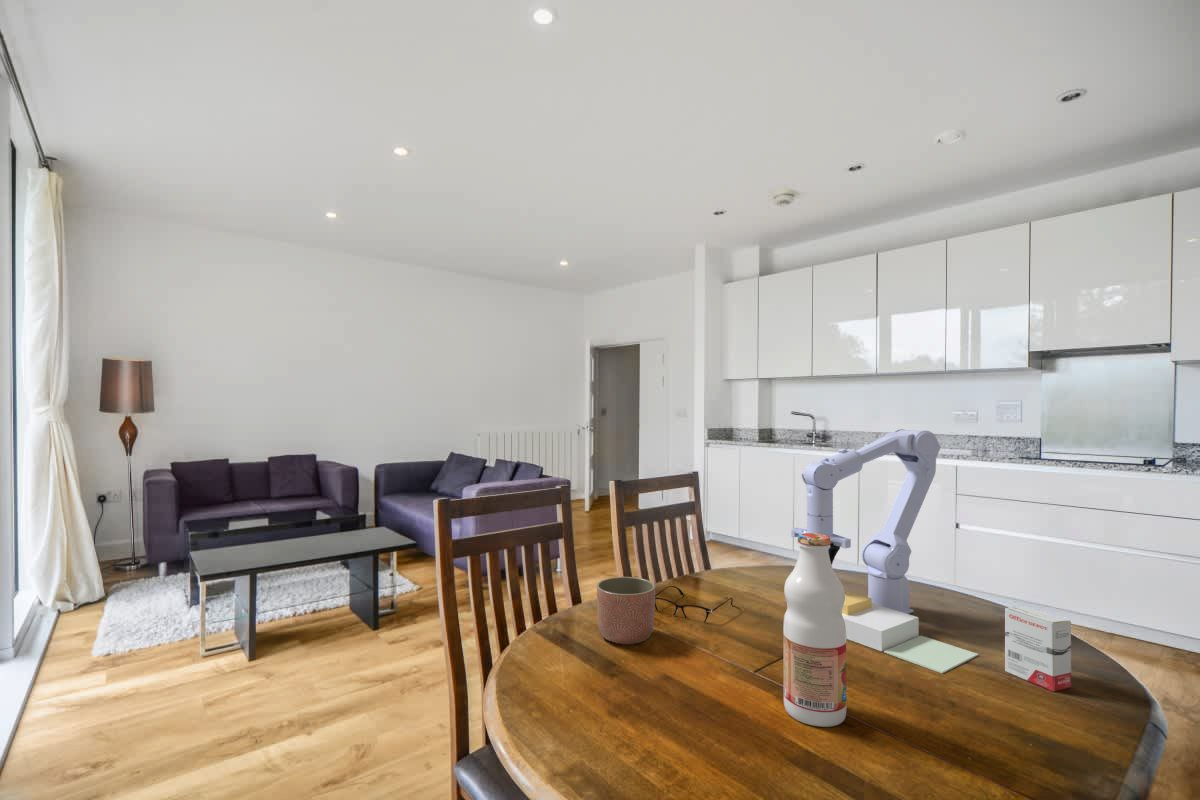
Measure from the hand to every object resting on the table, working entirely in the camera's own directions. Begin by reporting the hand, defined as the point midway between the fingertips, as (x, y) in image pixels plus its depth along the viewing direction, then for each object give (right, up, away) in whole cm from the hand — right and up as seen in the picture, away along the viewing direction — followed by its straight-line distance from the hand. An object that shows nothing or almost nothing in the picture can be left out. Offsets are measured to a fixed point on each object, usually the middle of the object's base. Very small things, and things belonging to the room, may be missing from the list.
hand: (819, 573), depth 135 cm
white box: (+4, -10, -7) cm, 13 cm away
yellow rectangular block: (+4, -6, -6) cm, 9 cm away
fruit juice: (-17, -10, -43) cm, 47 cm away
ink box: (+27, -10, -31) cm, 43 cm away
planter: (-46, -10, -13) cm, 49 cm away
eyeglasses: (-29, -11, +5) cm, 31 cm away
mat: (+14, -10, -21) cm, 27 cm away
